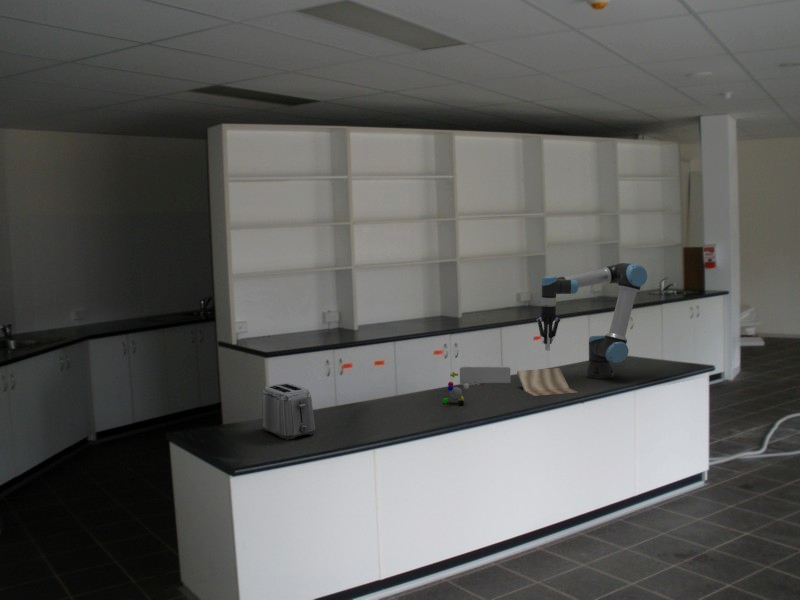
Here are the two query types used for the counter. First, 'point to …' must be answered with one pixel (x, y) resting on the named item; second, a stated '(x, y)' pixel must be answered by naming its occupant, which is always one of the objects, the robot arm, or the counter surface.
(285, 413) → the toaster
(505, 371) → the decorative sign
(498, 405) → the counter surface
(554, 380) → the plank
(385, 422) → the counter surface
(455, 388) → the molecular model
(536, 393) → the floor strip
